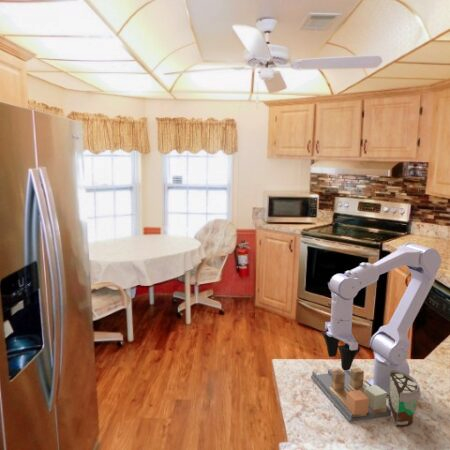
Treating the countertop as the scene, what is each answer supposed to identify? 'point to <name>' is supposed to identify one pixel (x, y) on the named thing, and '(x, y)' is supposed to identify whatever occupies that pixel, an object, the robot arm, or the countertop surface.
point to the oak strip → (343, 399)
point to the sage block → (376, 396)
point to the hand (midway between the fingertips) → (338, 362)
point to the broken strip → (381, 410)
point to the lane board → (324, 385)
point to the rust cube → (357, 402)
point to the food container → (402, 397)
